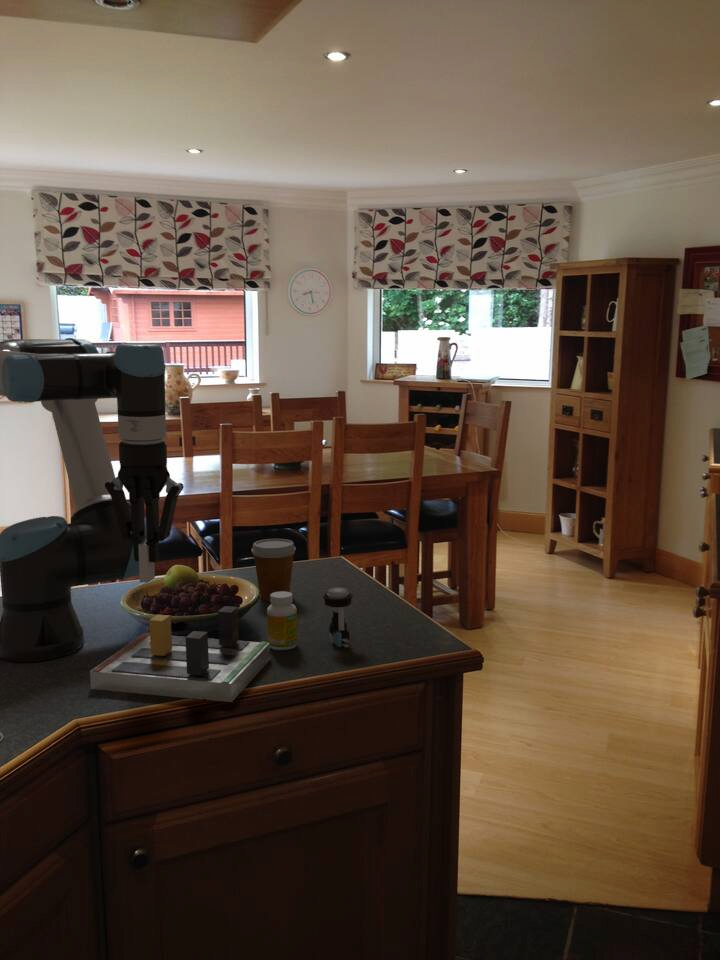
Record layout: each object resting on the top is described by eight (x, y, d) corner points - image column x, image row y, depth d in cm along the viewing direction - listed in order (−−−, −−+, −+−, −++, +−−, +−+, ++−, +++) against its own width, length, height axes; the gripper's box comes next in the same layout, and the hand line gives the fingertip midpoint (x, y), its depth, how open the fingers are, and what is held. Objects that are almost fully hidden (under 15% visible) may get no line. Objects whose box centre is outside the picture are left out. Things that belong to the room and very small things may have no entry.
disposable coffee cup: (253, 591, 187) (251, 538, 185) (296, 589, 188) (294, 537, 186) (252, 604, 178) (250, 549, 176) (297, 602, 179) (296, 547, 177)
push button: (360, 647, 153) (360, 594, 151) (333, 652, 150) (332, 598, 149) (346, 636, 159) (345, 584, 157) (319, 640, 156) (318, 588, 155)
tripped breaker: (150, 654, 140) (149, 620, 139) (159, 648, 143) (157, 614, 142) (164, 655, 140) (162, 621, 139) (172, 649, 143) (170, 615, 142)
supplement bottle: (289, 652, 150) (288, 600, 149) (262, 649, 152) (261, 597, 151) (302, 642, 155) (301, 591, 154) (275, 639, 157) (274, 588, 156)
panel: (90, 689, 135) (87, 632, 134) (143, 649, 153) (141, 598, 151) (231, 702, 130) (229, 643, 128) (270, 659, 147) (268, 607, 146)
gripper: (94, 442, 134) (100, 584, 139) (171, 446, 132) (175, 590, 136) (115, 435, 141) (120, 570, 146) (189, 438, 139) (192, 575, 144)
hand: (147, 579), depth 141 cm, fingers closed
